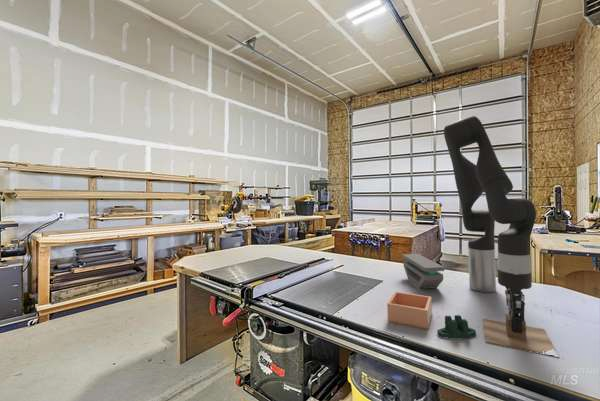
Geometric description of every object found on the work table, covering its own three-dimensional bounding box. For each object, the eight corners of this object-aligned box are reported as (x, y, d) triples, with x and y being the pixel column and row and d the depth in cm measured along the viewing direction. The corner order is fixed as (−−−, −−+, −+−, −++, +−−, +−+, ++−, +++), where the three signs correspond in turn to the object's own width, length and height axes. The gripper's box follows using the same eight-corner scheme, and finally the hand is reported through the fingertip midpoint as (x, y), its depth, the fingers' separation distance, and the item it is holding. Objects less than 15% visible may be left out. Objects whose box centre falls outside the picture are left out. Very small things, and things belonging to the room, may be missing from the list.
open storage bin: (395, 307, 99) (395, 291, 98) (432, 314, 92) (431, 296, 92) (387, 321, 88) (387, 303, 88) (428, 329, 82) (427, 310, 82)
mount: (442, 340, 77) (441, 322, 76) (434, 331, 81) (433, 315, 81) (480, 338, 77) (479, 320, 77) (470, 330, 81) (469, 313, 81)
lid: (482, 321, 87) (482, 303, 87) (544, 332, 79) (543, 312, 79) (485, 344, 74) (484, 323, 74) (559, 360, 66) (558, 336, 66)
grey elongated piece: (445, 293, 110) (444, 267, 110) (425, 294, 110) (425, 268, 110) (418, 275, 135) (417, 253, 135) (403, 275, 135) (402, 254, 135)
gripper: (495, 261, 84) (496, 315, 84) (500, 274, 72) (502, 337, 72) (525, 263, 80) (527, 320, 81) (537, 277, 68) (538, 344, 68)
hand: (515, 328), depth 76 cm, fingers open, 4 cm apart
